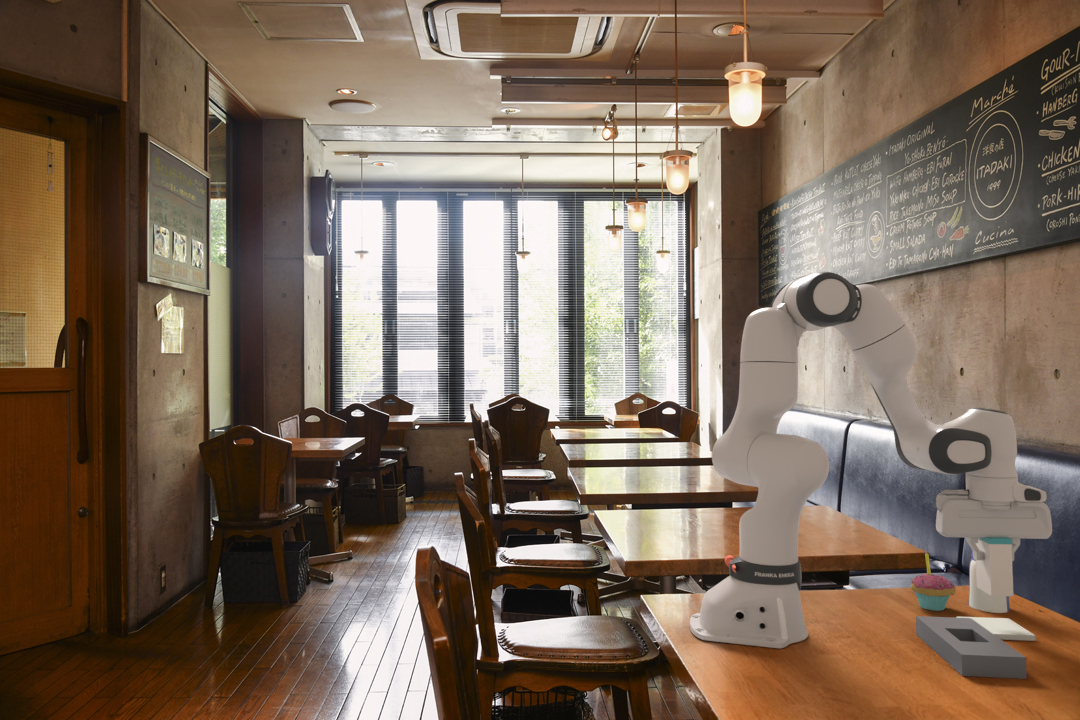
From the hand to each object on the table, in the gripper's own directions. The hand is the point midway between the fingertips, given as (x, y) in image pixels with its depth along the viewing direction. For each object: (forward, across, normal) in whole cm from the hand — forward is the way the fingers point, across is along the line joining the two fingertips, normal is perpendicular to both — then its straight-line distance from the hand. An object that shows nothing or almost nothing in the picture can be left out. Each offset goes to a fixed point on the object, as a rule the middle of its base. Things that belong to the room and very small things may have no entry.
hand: (993, 560), depth 143 cm
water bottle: (+14, +6, +16) cm, 22 cm away
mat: (+14, 0, 0) cm, 14 cm away
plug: (+6, 0, 0) cm, 6 cm away
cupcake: (+14, -6, +14) cm, 21 cm away
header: (+14, -11, -14) cm, 23 cm away
